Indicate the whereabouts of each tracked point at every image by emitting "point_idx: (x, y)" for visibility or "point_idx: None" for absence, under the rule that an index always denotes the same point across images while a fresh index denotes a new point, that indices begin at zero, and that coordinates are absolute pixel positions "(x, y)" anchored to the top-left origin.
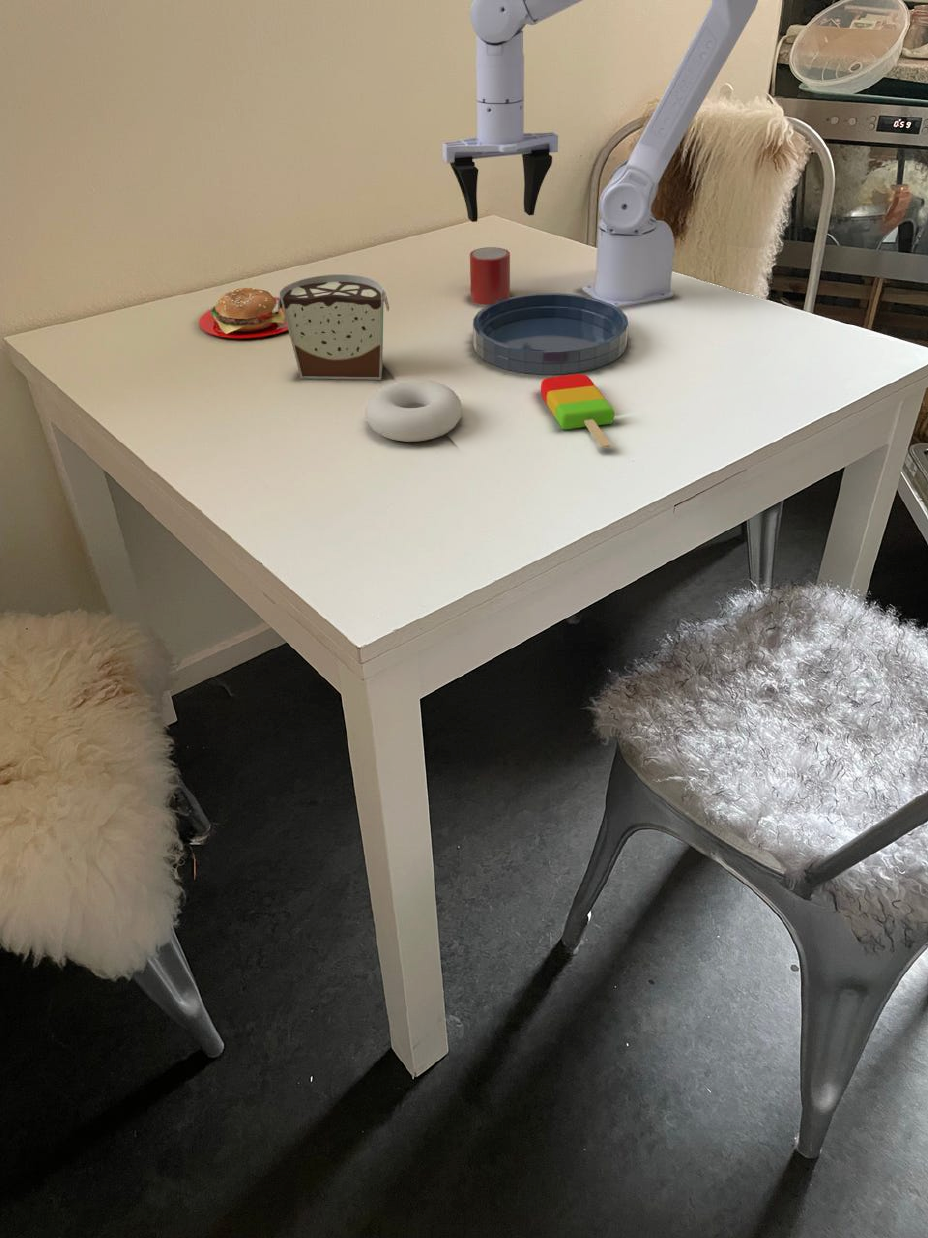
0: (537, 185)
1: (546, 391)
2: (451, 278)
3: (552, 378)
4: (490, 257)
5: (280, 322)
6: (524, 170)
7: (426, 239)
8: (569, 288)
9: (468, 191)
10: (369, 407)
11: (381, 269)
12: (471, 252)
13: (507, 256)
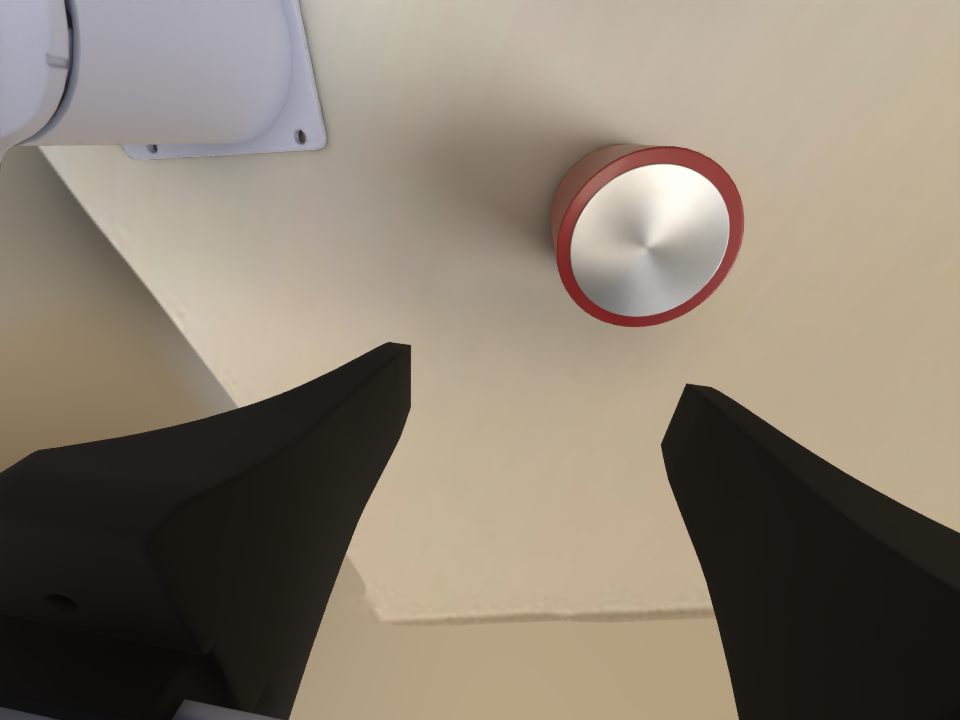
0: (301, 400)
1: None
2: (617, 407)
3: None
4: (680, 186)
5: None
6: (328, 583)
7: (545, 594)
8: (357, 192)
9: (876, 493)
10: None
11: None
12: (704, 295)
13: (600, 169)
